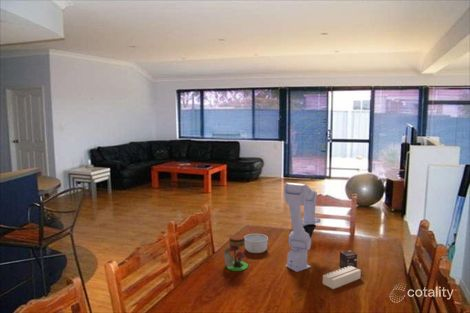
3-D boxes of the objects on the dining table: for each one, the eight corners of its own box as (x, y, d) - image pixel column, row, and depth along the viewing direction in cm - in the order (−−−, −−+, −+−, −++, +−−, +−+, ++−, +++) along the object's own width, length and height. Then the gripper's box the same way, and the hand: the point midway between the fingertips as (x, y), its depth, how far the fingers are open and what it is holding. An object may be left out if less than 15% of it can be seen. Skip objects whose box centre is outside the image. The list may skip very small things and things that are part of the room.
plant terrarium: (243, 259, 195) (243, 231, 193) (252, 269, 183) (252, 239, 181) (221, 263, 191) (220, 234, 189) (229, 273, 179) (229, 242, 177)
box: (346, 270, 181) (346, 256, 180) (338, 265, 187) (339, 251, 186) (357, 269, 183) (357, 254, 182) (349, 264, 189) (350, 249, 188)
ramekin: (261, 256, 199) (261, 243, 198) (239, 251, 206) (239, 238, 205) (272, 248, 210) (272, 235, 210) (251, 243, 217) (251, 231, 216)
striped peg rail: (333, 289, 163) (333, 279, 162) (322, 283, 168) (323, 274, 167) (360, 278, 173) (360, 269, 172) (349, 273, 178) (350, 265, 177)
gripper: (304, 216, 190) (304, 242, 192) (325, 212, 198) (324, 237, 200) (294, 213, 196) (294, 238, 197) (315, 209, 204) (314, 233, 205)
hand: (308, 237), depth 199 cm, fingers closed
